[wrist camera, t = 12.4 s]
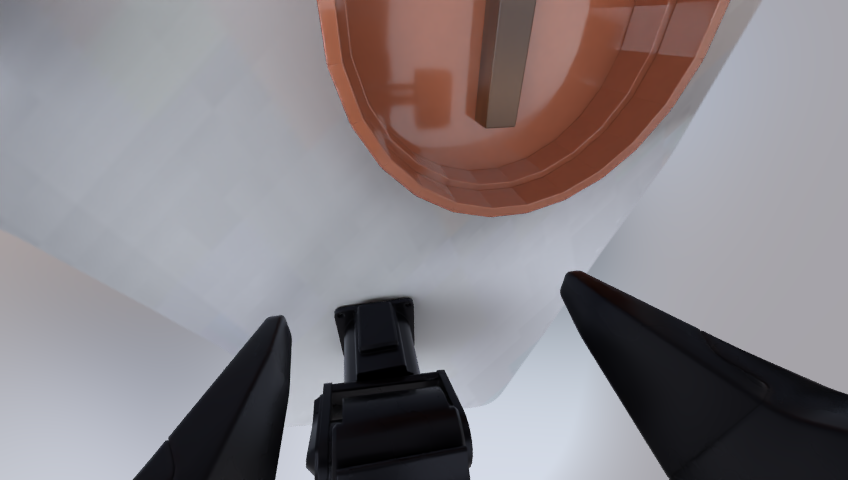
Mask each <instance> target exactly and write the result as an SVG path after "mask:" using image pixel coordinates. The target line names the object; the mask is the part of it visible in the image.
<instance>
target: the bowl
mask: <svg viewBox="0 0 848 480" xmlns="http://www.w3.org/2000/svg"><path fill="white" fill-rule="evenodd" d="M729 3H730V0H536V6H535V12H534V18H533V24H532V30H531V36H530V42H529V48H528V53H527V59H526V65H525V71H524V77H523V83H522V89H521V95H520V101H519V107H518V113H517V119H516V125H515V127H508V128H491V129H486V128H484V127H483V126H481V125H480V124H479V123H477V122H476V121H475V111H476V101H477V90H478V80H479V69H480V58H481V48H482V37H483V27H484V16H485V5H486V0H317V5H318V11H319V18H320V24H321V31H322V37H323V44H324V51H325V57H326V64H327V65H328V70H329V72H330V75H331V77H332V80H333V82H334V85H335V87H336V90H337V92H338V95H339V97H340V100H341V102H342V105H343V108H344V110H345V113H346V115H347V118H348V120H349V123H350V124H351V126H352V128H353V129H354V131H355V132H356V134H357V135H358V136H359V138H360V139H361V140H362V142H363V143H364V145H365V146H366V147H367V149H368V150H369V152H370V153H371V154H372V156H373V157H374V159H375V160H376V161H377V163H378V164H379V166H380V167H382V169H383V170H384V171H386V172H387V173H388V174H389V175H391V176H392V177H393V178H394V179H395V180H397V181H398V182H399V183H400V184H402V185H403V186H404V187H405V188H406V189H408V190H409V191H410V192H411V193H413V194H414V195H416V196H417V197H419V198H422V199H424V200H426V201H428V202H431V203H433V204H435V205H438V206H440V207H442V208H445V209H447V210H449V211H452V212H456V213H463V214H471V215H478V216H485V217H497V216H506V215H515V214H524V213H529V212H532V211H534V210H537V209H540V208H543V207H546V206H549V205H552V204H555V203H558V202H561V201H563V200H566V199H567V198H569V197H571V196H573V195H574V194H576V193H578V192H579V191H581V190H583V189H585V188H586V187H588V186H590V185H591V184H593V183H595V182H597V181H598V180H600V179H602V178H603V177H604V176H606V175H607V174H608V173H609V172H610V171H612V170H613V169H614V168H615V167H616V166H617V165H619V164H620V163H621V162H622V161H623V160H625V159H626V158H627V157H628V156H629V155H631V154H632V153H633V152H634V151H635V150H637V148H638V147H639V146H640V145H641V144H642V143H643V142H644V140H645V139H646V138H647V137H648V136H649V135H650V134H651V132H652V131H653V130H654V129H655V128H656V127H657V125H658V124H659V123H660V122H661V121H662V120H663V119H664V117H665V116H666V115H667V114H668V113H669V112H670V111H671V108H673V106H674V105H675V103H676V102H677V100H678V99H679V97H680V96H681V94H682V92H683V91H684V89H685V88H686V86H687V85H688V83H689V82H690V80H691V78H692V77H693V75H694V74H695V72H696V71H697V69H698V67H699V66H700V64H701V63H702V61H703V59H704V58H705V55H706V53H707V51H708V49H709V47H710V44H711V42H712V40H713V38H714V36H715V33H716V31H717V29H718V27H719V25H720V22H721V20H722V18H723V16H724V14H725V11H726V9H727V7H728V5H729Z"/></svg>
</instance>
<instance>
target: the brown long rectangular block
mask: <svg viewBox="0 0 848 480" xmlns="http://www.w3.org/2000/svg"><path fill="white" fill-rule="evenodd" d="M535 6H536V0H486V5H485V16H484V27H483V37H482V48H481V58H480V69H479V80H478V90H477V101H476V111H475V121H476V122H477V123H479V124H480V125H481V126H483V127H484V128H486V129H491V128H508V127H515V125H516V119H517V113H518V107H519V101H520V95H521V89H522V83H523V77H524V71H525V65H526V59H527V53H528V48H529V42H530V36H531V30H532V24H533V18H534V12H535Z"/></svg>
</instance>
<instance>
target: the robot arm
mask: <svg viewBox="0 0 848 480" xmlns="http://www.w3.org/2000/svg"><path fill="white" fill-rule="evenodd" d="M560 293H561V297H562V299H563V301H564V303H565V305H566V307H567V309H568V311H569V313H570V315H571V317H572V320H573V322H574V324H575V326H576V328H577V330H578V332H579V334H580V335H581V337H582V339H583V341H584V342H585V344H586V346H587V347H588V349H589V350H590V352H591V354H592V355H593V356H594V358H595V360H596V362H597V363H598V365H599V367H600V368H601V370H602V371H603V373H604V375H605V376H606V378H607V380H608V381H609V383H610V384H611V386H612V388H613V389H614V391H615V392H616V394H617V396H618V397H619V399H620V401H621V402H622V404H623V405H624V407H625V408H626V410H627V412H628V413H629V415H630V417H631V418H632V420H633V422H634V423H635V425H636V426H637V428H638V430H639V431H640V433H641V435H642V436H643V437H644V439H645V441H646V443H647V444H648V446H649V447H650V449H651V451H652V452H653V454H654V455H655V457H656V459H657V460H658V462H659V464H660V465H661V467H662V468H663V470H664V472H665V473H666V475H667V477H669V480H848V394H845V393H842V392H839V391H836V390H833V389H831V388H828V387H826V386H823V385H821V384H819V383H817V382H814V381H812V380H810V379H807V378H805V377H803V376H800V375H798V374H796V373H793V372H791V371H789V370H787V369H784V368H782V367H780V366H777V365H775V364H773V363H771V362H768V361H766V360H763V359H762V358H759V357H757V356H755V355H752V354H750V353H748V352H746V351H743V350H741V349H739V348H737V347H735V346H733V345H731V344H729V343H726V342H724V341H722V340H720V339H718V338H716V337H714V336H712V335H710V334H708V333H706V332H704V331H700V330H699V329H698V328H696V327H694V326H692V325H690V324H688V323H686V322H683V321H682V320H679V319H677V318H675V317H673V316H671V315H669V314H667V313H665V312H663V311H661V310H659V309H657V308H655V307H653V306H651V305H649V304H647V303H645V302H643V301H641V300H639V299H637V298H635V297H633V296H631V295H629V294H626V293H625V292H622V291H620V290H619V289H616V288H614V287H612V286H610V285H608V284H606V283H604V282H602V281H600V280H598V279H596V278H594V277H592V276H590V275H588V274H586V273H584V272H582V271H571V272H568V273H567V274H566V275H565V278H564V281H563V284H562V286H561V289H560ZM407 303H409V304H407ZM335 321H336V325H337V329H338V334H339V338H340V342H341V346H342V350H343V355H344V383H338V384H332V383H326V384H324V388H323V394H322V395H320V397H319V398H317V399H316V400H315V401H314V414H313V424H312V431H311V436H310V441H309V447H308V452H307V458H306V468H307V469H308V470H309V471H310V472H311V473H312V474H313V475H314V476H315V480H470V475H469V468H470V467H471V464H472V457H473V452H472V451H473V448H472V439H471V433H470V429H469V424H468V421H467V418H466V415H465V412H464V410H463V408H462V406H461V404H460V402H459V400H458V397H457V395H456V393H455V391H454V389H453V387H452V385H451V383H450V381H449V379H448V377H447V375H446V373H445V370H437V372H430V373H422V374H420V370H419V366H418V361H417V357H416V352H415V348H414V304H413V300H412V299H411V298H402V299H396V300H389V301H382V302H376V303H369V304H363V305H356V306H349V307H343V308H338V309H336V310H335ZM291 346H292V337H291V333H290V330H289V327H288V325H287V322H286V319H285V317H284V316H282V315H279V316H272V317H268V318H267V319H266V320H265V321H264V322H263V323H262V325H261V326H260V327H259V328H258V330H257V331H256V332H255V333H254V334H253V336H252V337H251V338H250V339H249V340H248V342H247V343H246V344H245V345H244V347H243V348H242V349H241V350H240V351H239V353H238V354H237V355H236V356H235V357H234V359H233V360H232V361H231V362H230V364H229V365H228V366H227V367H226V368H225V370H224V371H223V372H222V374H220V376H219V377H218V378H217V379H216V381H215V382H214V383H213V384H212V385H211V386H210V388H209V389H208V390H207V391H206V393H205V394H204V395H203V396H202V398H201V399H200V400H199V401H198V402H197V403H196V405H195V406H194V407H193V408H192V410H191V411H190V412H189V413H188V414H187V416H186V417H185V418H184V419H183V420H182V422H181V423H180V424H179V425H178V426H177V428H176V429H175V430H174V431H173V433H172V434H171V435H170V436H169V438H168V439H169V440H167V441H165V442H164V443H163V445H162V446H161V447H160V448H159V449H158V451H157V452H156V453H155V454H154V455H153V457H152V458H151V459H150V460H149V461H148V462H147V464H146V465H145V466H144V467H143V468H142V470H141V471H140V472H139V473H138V474H137V475H136V477H135V478H134V479H133V480H275V477H276V471H277V465H278V458H279V452H280V447H281V440H282V434H283V428H284V422H285V416H286V410H287V404H288V397H289V388H290V368H291Z"/></svg>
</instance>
